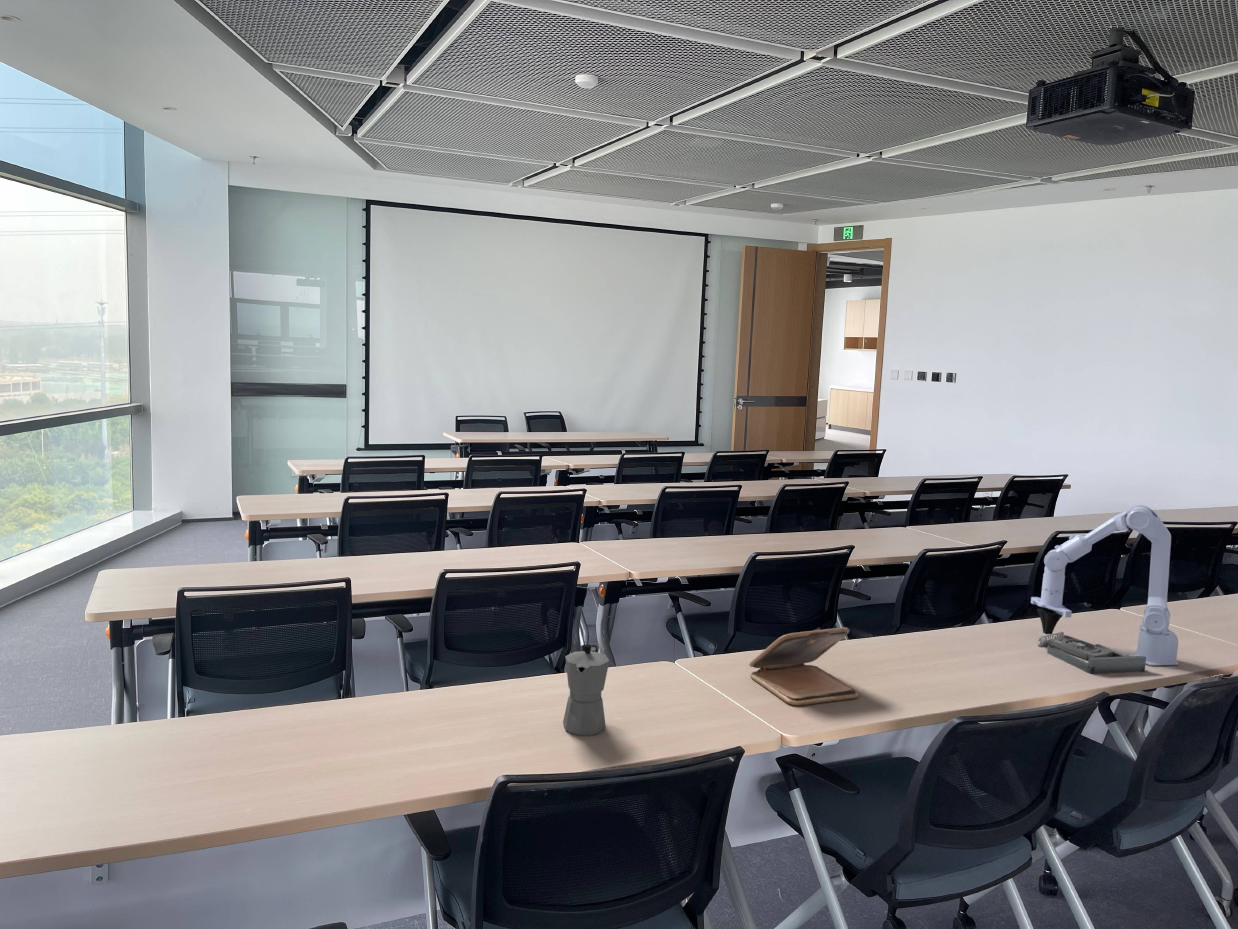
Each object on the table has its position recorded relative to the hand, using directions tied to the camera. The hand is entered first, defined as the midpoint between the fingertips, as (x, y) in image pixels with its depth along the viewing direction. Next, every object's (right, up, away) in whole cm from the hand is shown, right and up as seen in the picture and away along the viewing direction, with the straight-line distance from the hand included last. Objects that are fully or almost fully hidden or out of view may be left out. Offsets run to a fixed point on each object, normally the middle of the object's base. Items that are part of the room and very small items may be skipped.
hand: (1047, 633), depth 249 cm
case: (-84, -4, -46) cm, 96 cm away
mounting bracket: (+4, -4, -19) cm, 20 cm away
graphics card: (+2, -4, -10) cm, 11 cm away
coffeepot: (-137, -5, -73) cm, 155 cm away
